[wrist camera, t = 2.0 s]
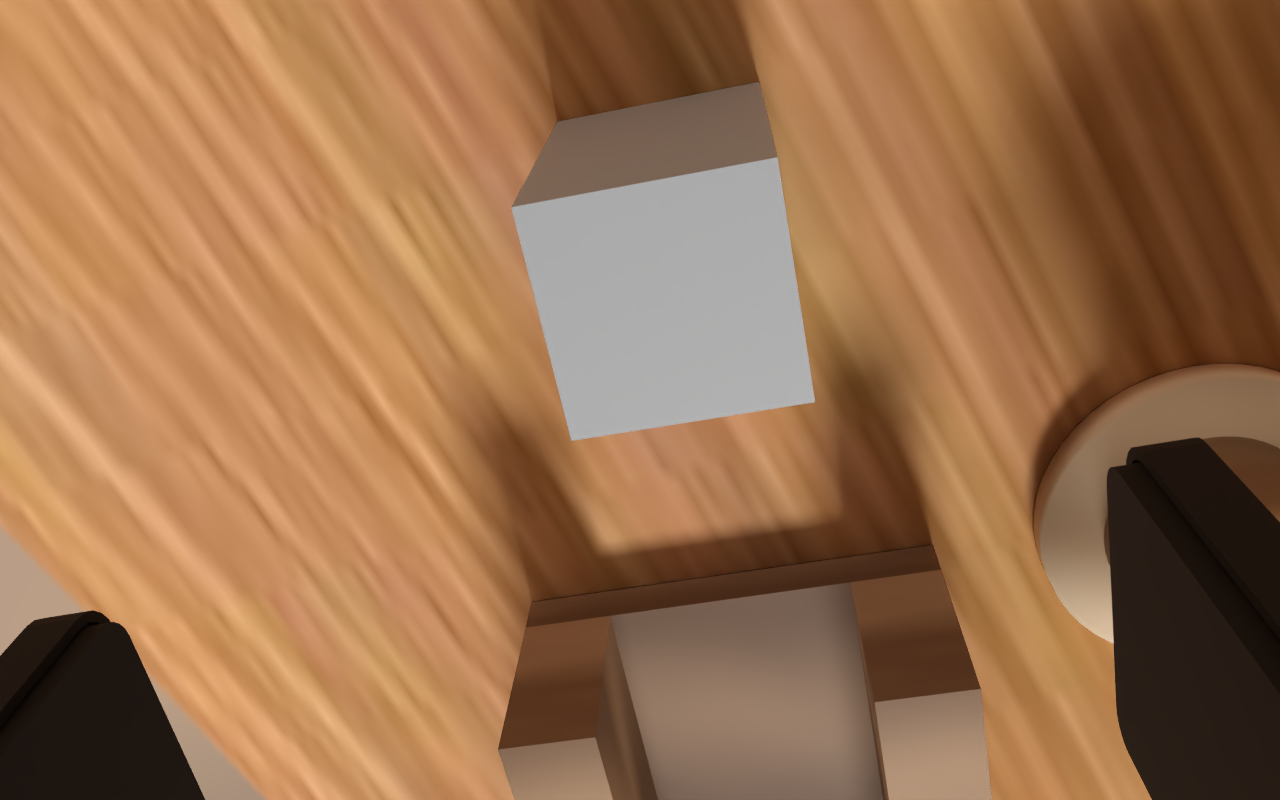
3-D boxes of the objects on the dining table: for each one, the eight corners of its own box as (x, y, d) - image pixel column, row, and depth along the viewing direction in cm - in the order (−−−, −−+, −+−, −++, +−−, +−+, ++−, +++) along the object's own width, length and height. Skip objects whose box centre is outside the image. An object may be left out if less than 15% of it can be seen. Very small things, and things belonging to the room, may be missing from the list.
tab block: (557, 121, 23) (510, 207, 17) (759, 81, 22) (777, 157, 17) (601, 308, 24) (571, 440, 19) (790, 275, 24) (815, 401, 18)
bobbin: (1024, 392, 24) (1157, 618, 17) (1371, 337, 24) (1667, 552, 16) (1042, 653, 27) (1163, 940, 20) (1352, 613, 26) (1596, 899, 19)
